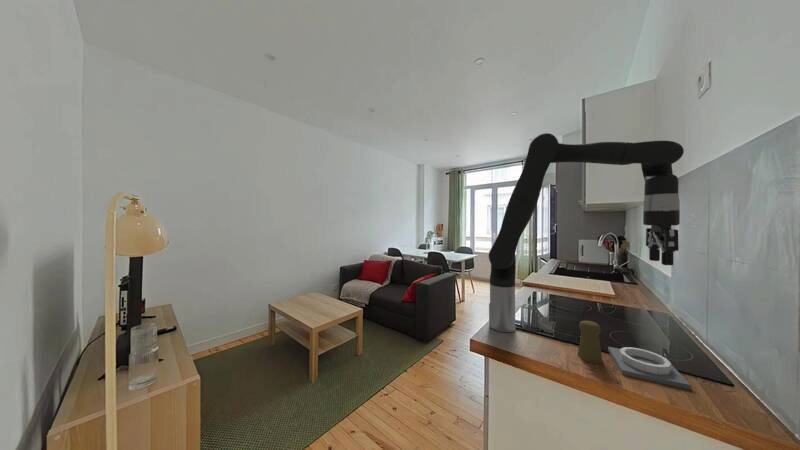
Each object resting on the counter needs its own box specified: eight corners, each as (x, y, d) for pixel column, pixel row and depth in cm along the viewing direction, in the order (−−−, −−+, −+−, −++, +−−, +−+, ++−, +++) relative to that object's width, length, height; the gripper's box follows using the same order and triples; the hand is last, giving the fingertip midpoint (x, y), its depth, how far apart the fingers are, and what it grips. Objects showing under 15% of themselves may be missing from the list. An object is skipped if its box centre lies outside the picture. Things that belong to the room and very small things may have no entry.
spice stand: (621, 374, 66) (621, 362, 66) (608, 350, 78) (608, 340, 78) (691, 390, 59) (691, 377, 59) (664, 361, 72) (664, 350, 72)
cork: (607, 364, 70) (607, 327, 70) (584, 362, 72) (584, 325, 71) (595, 353, 76) (595, 318, 76) (573, 351, 78) (573, 317, 77)
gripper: (635, 210, 81) (635, 258, 81) (653, 209, 69) (653, 265, 69) (666, 210, 77) (666, 260, 78) (692, 208, 65) (692, 267, 65)
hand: (660, 262), depth 73 cm, fingers open, 8 cm apart
